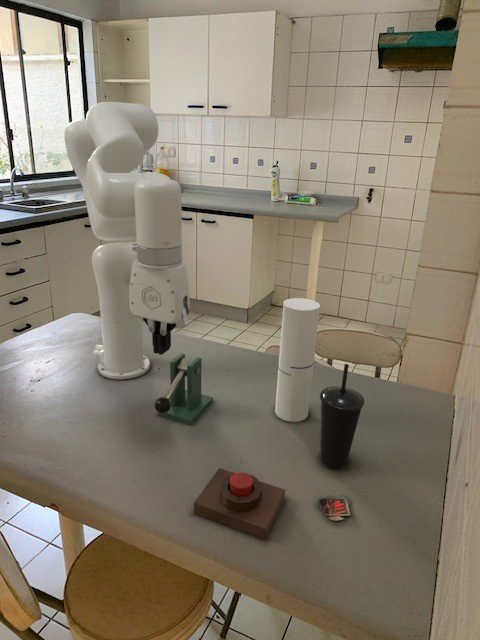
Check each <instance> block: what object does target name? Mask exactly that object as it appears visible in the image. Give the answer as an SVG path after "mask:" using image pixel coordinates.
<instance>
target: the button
mask: <svg viewBox="0 0 480 640" xmlns="http://www.w3.org/2000/svg"><path fill="white" fill-rule="evenodd" d="M234 473H235V474H234V475H232V476H231V478H230V491H231V493H232V494H233V495H235V496H238V497H244V496H248V495H249V494H251V492H252V488H253V479H252V477H251V476H250V475H251V474H250V473H247V472H234Z"/></svg>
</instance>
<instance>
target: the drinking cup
mask: <svg viewBox="0 0 480 640" xmlns="http://www.w3.org/2000/svg"><path fill="white" fill-rule="evenodd" d="M343 366H344V367H343V374H342V382H341V386H339V385H338V386H337V385H336V386H335V385H334V386H328V387H325V388H323V389H322V390H321V391H320V393H319V400H320V446H319V447H320V448H319V449H320V452H319V456H320V458H319V459H320V462H321V464H322V465H323V466H325V468H328V469H331V470H342V469H344V468H345V467H347V463H348V460H349V456H350V453H351V448H352V444H353V442H354V439H355V438H354V437H355V433H356V429H357V426H358V422H359V419H360V415H361V412H362V408H363V407H364V406H365V402H366V401H365V398H364V396H363V394H361V393H360V392H359V391H357V390H355V389H354V388H353V389H352V388H351V387H347V386H346V385H347V380H348V372H349V366H350V365H349V364H348V363H344V365H343Z"/></svg>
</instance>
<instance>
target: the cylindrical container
mask: <svg viewBox="0 0 480 640" xmlns="http://www.w3.org/2000/svg"><path fill="white" fill-rule="evenodd" d="M282 306H283V307H282V317H281V329H280V333H281V334H280V344H279V355H278V371H277V383H276V394H275V395H276V396H275V406H274V407H275V408H274V413H275V415H276V416H277V418H279V419H281V420H282V421H286V422H293V423H297V422H303V421H305V420H306V419H307V418H308V417H309V409H310V401H311V400H310V399H311V393H312V392H311V390H312V381H313V375H314V374H313V373H314V366H315V365H314V364H315V363H314V362H315V356H316V345H317V338H318V337H317V336H318V328H319V319H320V310H321V309H320V308H321V305H320V303H319V302H318V301H316V300H313V299H309V298H305V297H303V298H302V297H293V298H287V299H285V300H284V301H283V305H282Z"/></svg>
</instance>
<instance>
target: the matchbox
mask: <svg viewBox="0 0 480 640" xmlns="http://www.w3.org/2000/svg"><path fill="white" fill-rule="evenodd" d="M318 505H319V508H320V510H321V512H322V513H323V515H324V516H328V518H329V519H330V520H331V521H334V522H337V521H343V520H344V519H345V518H344V516H351V515H350V509H349V501H348V499H347V498H346V497H324V498H320V499H318ZM342 516H343V517H342Z"/></svg>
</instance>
